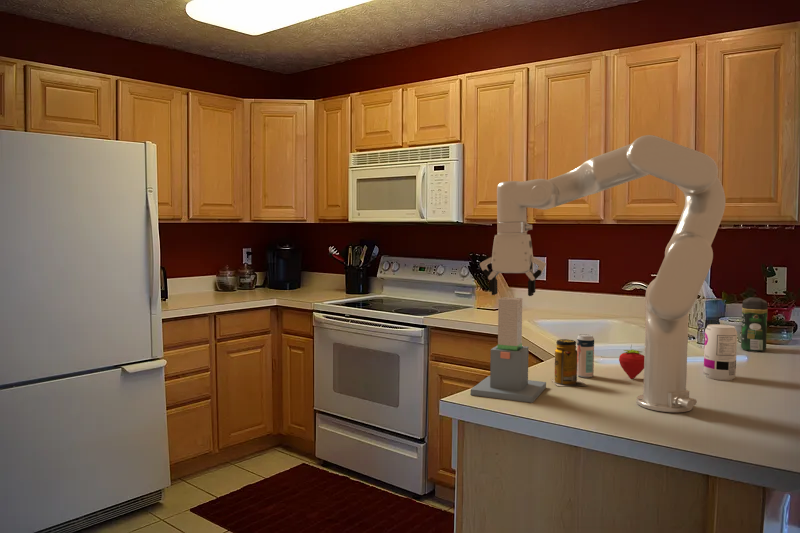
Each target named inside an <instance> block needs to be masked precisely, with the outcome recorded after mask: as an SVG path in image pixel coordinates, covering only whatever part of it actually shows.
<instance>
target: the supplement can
mask: <svg viewBox="0 0 800 533" xmlns="http://www.w3.org/2000/svg"><path fill="white" fill-rule="evenodd" d="M703 346H704V351H703V375H704V376H705V377H706V378H708V379H710V380H715V381H732V380H734V379H735V378H736V373H737V371H736V370H737V347H738V331H737V329H736V327H735V326H734V325H728V324H722V323H721V324H720V323H719V324H716V323H711V324H707V326H706V328H705V330H704V344H703Z"/></svg>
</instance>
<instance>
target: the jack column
mask: <svg viewBox="0 0 800 533" xmlns="http://www.w3.org/2000/svg"><path fill="white" fill-rule="evenodd" d="M497 302H498V303H497V304H498V306H497V308H498V310H497V313H498V314H497V315H498V316H497V325H498V326H497V345H496V346H497V349H499V350H511V351H519V350H521V349H522V346H523V342H522V341H523V339H522V338H523V334H522V333H523V298H522V297H505V296H504V297H500V298H498V301H497Z"/></svg>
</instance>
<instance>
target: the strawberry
mask: <svg viewBox="0 0 800 533" xmlns="http://www.w3.org/2000/svg"><path fill="white" fill-rule="evenodd" d="M630 347H632V344H631V346H630ZM623 351H624V352H623V353H621V354H620V355H619V357H618V361H619V365H620V367H621V368H622V370H623V371H624V372H625V374H626V375H627V376H628V378H629V379H631V380H632V379H633V380H634V379H635V378H637V376H638V375H640V373H641V372H643V371H644V354H641V353H642V351H640V350H636V349H623Z"/></svg>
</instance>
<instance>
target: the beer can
mask: <svg viewBox="0 0 800 533" xmlns="http://www.w3.org/2000/svg"><path fill="white" fill-rule="evenodd" d="M576 350H577V377H579V378H583V379H589V378H592V377H594V366H595V364H594V363H595V362H594V361H595V338H594V336H593V335H592V334H582V333H581V334H578V335H577V337H576Z"/></svg>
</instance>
